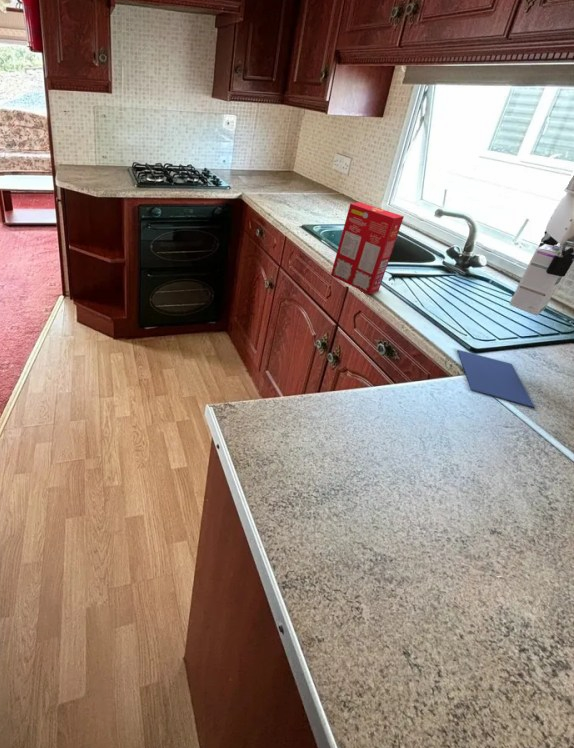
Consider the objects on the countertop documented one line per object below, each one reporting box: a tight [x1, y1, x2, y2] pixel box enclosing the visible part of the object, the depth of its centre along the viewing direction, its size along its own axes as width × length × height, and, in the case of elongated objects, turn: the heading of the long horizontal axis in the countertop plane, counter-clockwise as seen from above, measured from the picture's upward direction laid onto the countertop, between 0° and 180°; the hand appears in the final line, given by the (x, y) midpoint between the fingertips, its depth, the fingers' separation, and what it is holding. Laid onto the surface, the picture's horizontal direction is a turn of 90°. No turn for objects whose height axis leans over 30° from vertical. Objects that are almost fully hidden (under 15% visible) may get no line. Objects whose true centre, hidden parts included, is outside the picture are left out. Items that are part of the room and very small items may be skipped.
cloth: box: [457, 349, 535, 409], centre depth 94 cm, size 12×16×1 cm
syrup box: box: [508, 244, 568, 317], centre depth 90 cm, size 6×6×14 cm
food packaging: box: [330, 201, 404, 295], centre depth 127 cm, size 15×5×25 cm, turn 37°
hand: (547, 267), depth 88 cm, fingers closed on syrup box, 7 cm apart
